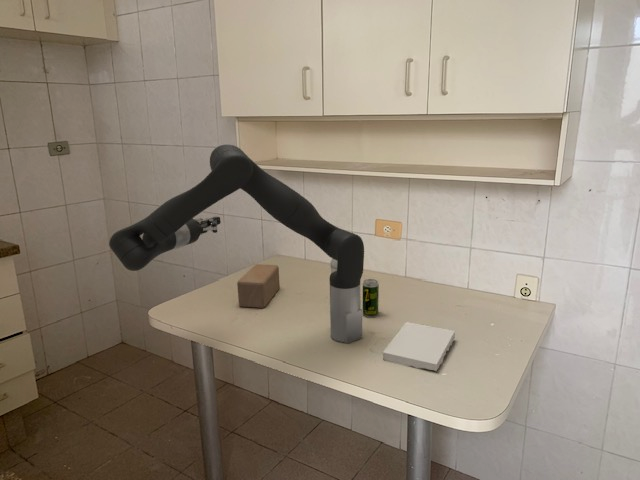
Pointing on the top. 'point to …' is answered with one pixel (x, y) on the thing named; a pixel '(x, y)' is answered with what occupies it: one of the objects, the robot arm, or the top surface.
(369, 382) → the top surface
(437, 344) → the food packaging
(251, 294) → the wooden block
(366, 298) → the beer can
